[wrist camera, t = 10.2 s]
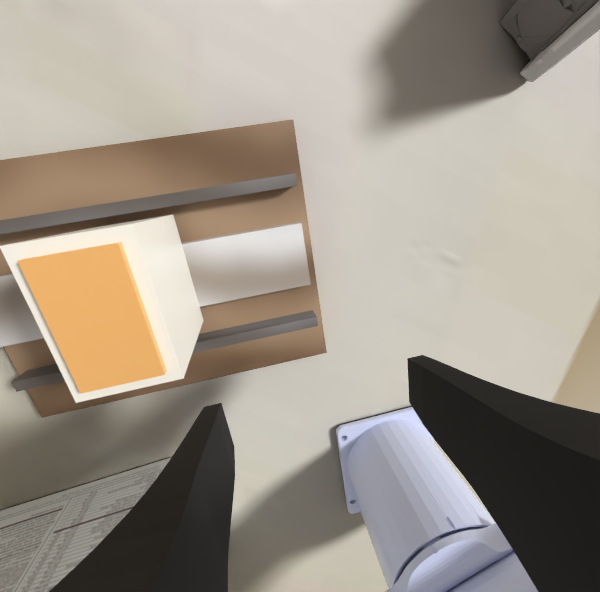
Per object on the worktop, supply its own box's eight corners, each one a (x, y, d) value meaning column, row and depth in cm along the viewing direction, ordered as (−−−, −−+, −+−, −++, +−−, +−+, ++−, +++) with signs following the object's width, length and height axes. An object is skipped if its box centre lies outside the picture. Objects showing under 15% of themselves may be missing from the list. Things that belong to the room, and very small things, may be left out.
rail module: (203, 320, 17) (182, 382, 12) (131, 335, 17) (71, 408, 11) (173, 214, 16) (128, 224, 10) (91, 228, 15) (-9, 247, 9)
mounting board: (322, 345, 21) (331, 361, 19) (51, 406, 19) (28, 431, 17) (290, 123, 17) (296, 113, 15) (-70, 174, 15) (-122, 170, 13)
